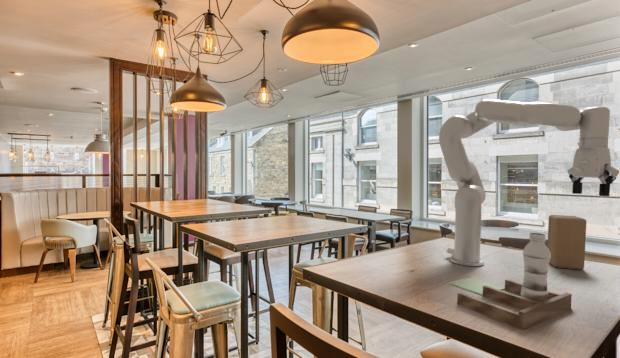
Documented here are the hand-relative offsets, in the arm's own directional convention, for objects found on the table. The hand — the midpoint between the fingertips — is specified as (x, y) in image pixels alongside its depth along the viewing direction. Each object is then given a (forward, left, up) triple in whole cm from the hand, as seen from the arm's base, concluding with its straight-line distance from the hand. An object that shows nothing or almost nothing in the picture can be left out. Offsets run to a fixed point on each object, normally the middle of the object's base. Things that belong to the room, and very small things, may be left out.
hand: (590, 194), depth 115 cm
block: (-13, +18, -30) cm, 37 cm away
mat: (-16, -38, -30) cm, 51 cm away
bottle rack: (-2, -44, -30) cm, 54 cm away
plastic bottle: (+1, -38, -30) cm, 49 cm away
